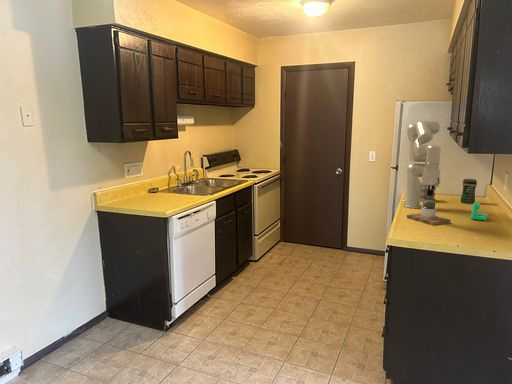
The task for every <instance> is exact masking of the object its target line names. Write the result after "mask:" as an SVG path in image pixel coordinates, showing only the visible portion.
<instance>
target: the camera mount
mask: <svg viewBox="0 0 512 384" xmlns="http://www.w3.org/2000/svg"><path fill="white" fill-rule="evenodd" d="M480 209H481V202H475V203H473V204H472V211H471V216H470V219H471V220H479V221H487V218H488V214H487V213H482V212H479V213H478V211H479V210H480Z"/></svg>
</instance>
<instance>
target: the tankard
mask: <svg viewBox="0 0 512 384" xmlns="http://www.w3.org/2000/svg"><path fill="white" fill-rule="evenodd" d="M436 189H437V187H436V188H435V189H433V196H427V190H428V189H427V187H426V186H425V185H423V183H422V182H421V195H420V202H422V201H425V200H429V201H437V200H436V198H435V197H436Z"/></svg>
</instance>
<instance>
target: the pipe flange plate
mask: <svg viewBox="0 0 512 384" xmlns="http://www.w3.org/2000/svg"><path fill="white" fill-rule="evenodd" d="M406 218H407V219H409V220H413V221H415V222H420V223H423V224H426V225H430V226H436V225H445V224H451V220H452V219H449V218H446V217H442V216H439V215H437V207H435V209H426V208H423V206H422V207H421V208H420V213H409V214H406Z"/></svg>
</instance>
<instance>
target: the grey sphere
mask: <svg viewBox="0 0 512 384" xmlns="http://www.w3.org/2000/svg"><path fill="white" fill-rule="evenodd" d="M422 207H423V208H426V209H435V208H436V202H435V201H429V200H425V201H423V202H422Z"/></svg>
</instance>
